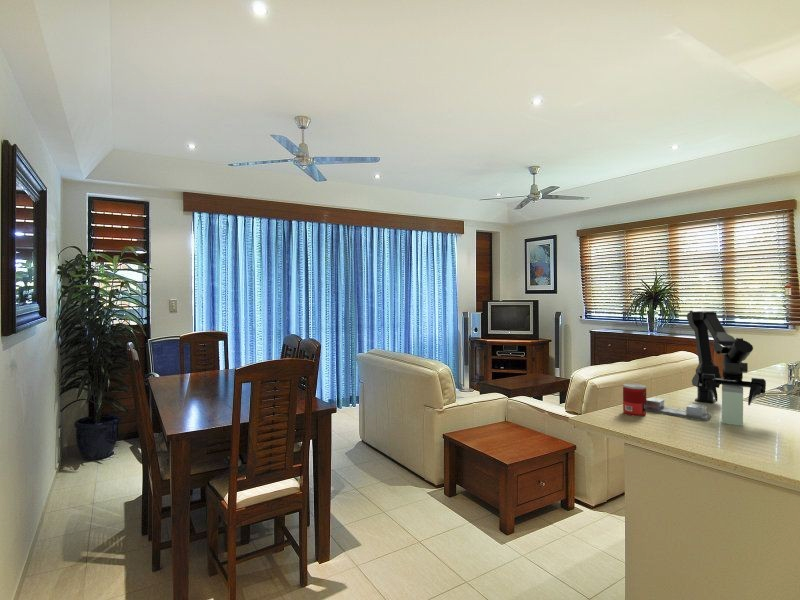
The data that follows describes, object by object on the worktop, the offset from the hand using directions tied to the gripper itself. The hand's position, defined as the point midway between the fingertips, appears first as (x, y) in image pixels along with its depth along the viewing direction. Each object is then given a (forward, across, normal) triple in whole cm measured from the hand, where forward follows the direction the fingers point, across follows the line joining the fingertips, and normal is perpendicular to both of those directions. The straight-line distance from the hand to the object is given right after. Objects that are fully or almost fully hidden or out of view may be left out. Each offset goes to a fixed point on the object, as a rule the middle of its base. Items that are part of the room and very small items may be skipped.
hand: (732, 402), depth 158 cm
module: (+5, 0, +6) cm, 7 cm away
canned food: (+9, -30, +1) cm, 32 cm away
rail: (+3, -18, +8) cm, 20 cm away
